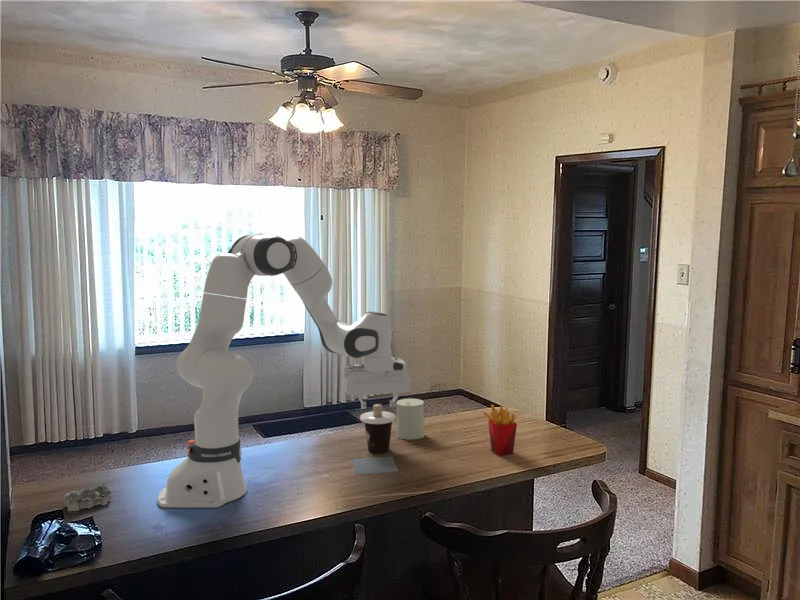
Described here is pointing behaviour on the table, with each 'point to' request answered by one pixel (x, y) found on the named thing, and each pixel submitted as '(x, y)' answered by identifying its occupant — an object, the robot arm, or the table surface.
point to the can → (410, 418)
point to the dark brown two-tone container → (378, 437)
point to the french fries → (501, 431)
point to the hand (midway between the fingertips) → (378, 407)
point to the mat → (374, 465)
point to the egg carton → (76, 497)
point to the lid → (377, 416)
